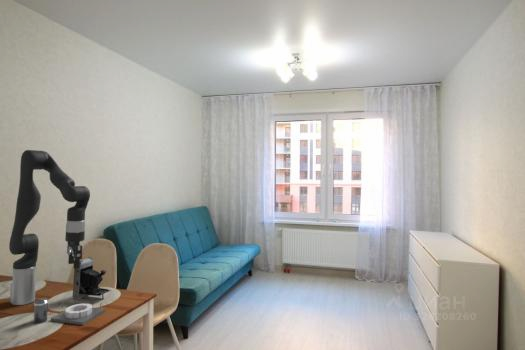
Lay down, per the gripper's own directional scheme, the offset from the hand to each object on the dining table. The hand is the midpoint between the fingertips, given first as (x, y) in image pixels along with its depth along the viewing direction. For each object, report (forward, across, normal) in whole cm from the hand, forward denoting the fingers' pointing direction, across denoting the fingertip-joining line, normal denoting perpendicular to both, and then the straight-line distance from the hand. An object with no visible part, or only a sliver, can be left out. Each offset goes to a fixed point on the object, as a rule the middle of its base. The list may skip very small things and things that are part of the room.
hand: (73, 265), depth 146 cm
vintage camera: (+23, -16, +13) cm, 31 cm away
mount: (+22, +3, +2) cm, 23 cm away
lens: (+22, -2, -11) cm, 25 cm away
